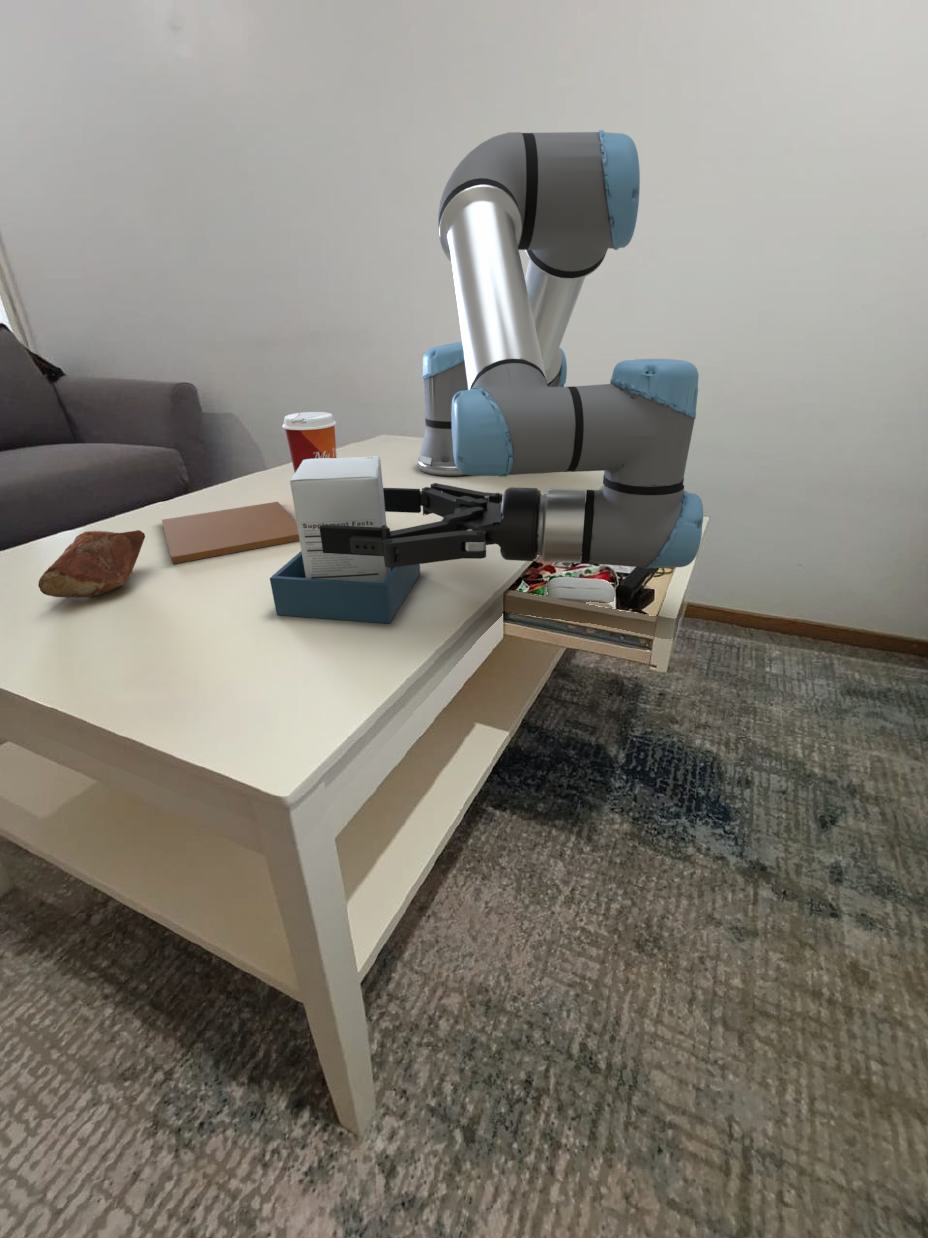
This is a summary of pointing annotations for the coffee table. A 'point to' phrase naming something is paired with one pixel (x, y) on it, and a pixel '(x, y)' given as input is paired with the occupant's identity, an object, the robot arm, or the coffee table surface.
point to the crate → (340, 594)
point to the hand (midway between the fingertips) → (346, 517)
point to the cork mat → (228, 531)
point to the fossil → (93, 564)
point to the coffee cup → (310, 436)
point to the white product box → (339, 514)
